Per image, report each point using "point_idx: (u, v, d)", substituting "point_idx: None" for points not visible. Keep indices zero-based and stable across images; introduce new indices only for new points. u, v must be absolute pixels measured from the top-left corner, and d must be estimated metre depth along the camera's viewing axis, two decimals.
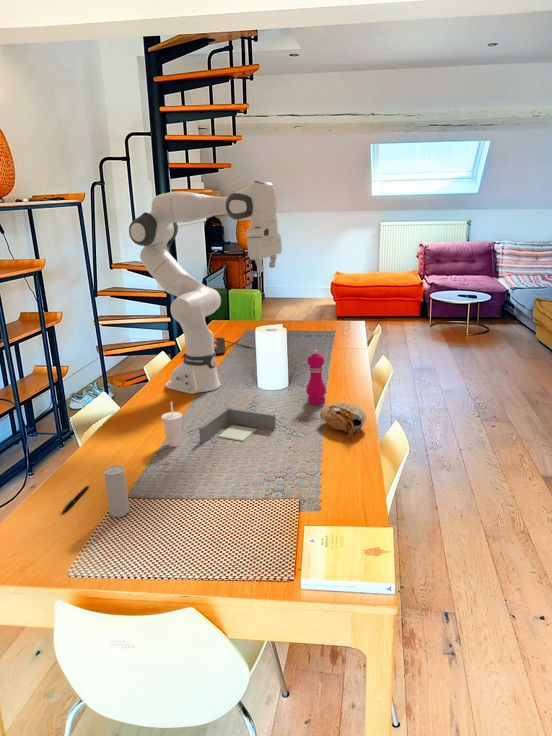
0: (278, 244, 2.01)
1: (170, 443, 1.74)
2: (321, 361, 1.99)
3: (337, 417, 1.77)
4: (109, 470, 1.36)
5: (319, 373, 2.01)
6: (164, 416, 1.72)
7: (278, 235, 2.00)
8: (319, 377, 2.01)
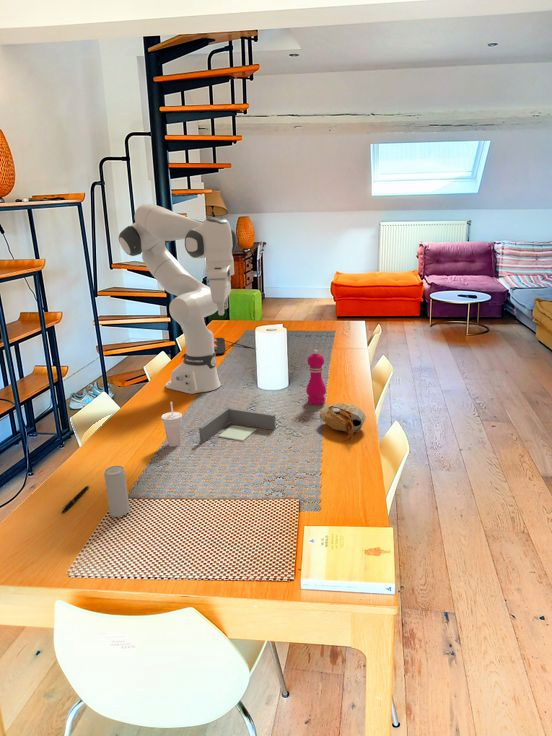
0: (229, 283, 1.88)
1: (170, 443, 1.74)
2: (321, 361, 1.99)
3: (337, 417, 1.77)
4: (109, 470, 1.36)
5: (319, 373, 2.01)
6: (164, 416, 1.72)
7: None
8: (319, 377, 2.01)
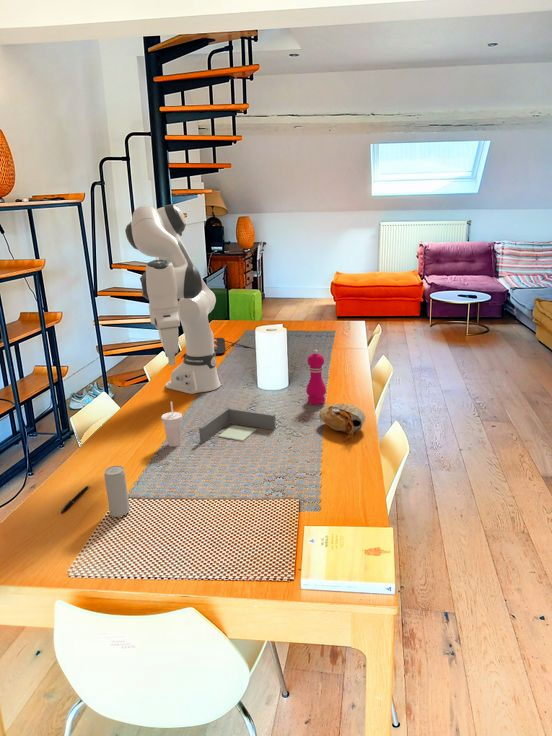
0: None
1: (170, 443, 1.74)
2: (321, 361, 1.99)
3: (337, 418, 1.77)
4: (109, 470, 1.36)
5: (319, 373, 2.01)
6: (164, 416, 1.72)
7: None
8: (319, 377, 2.01)
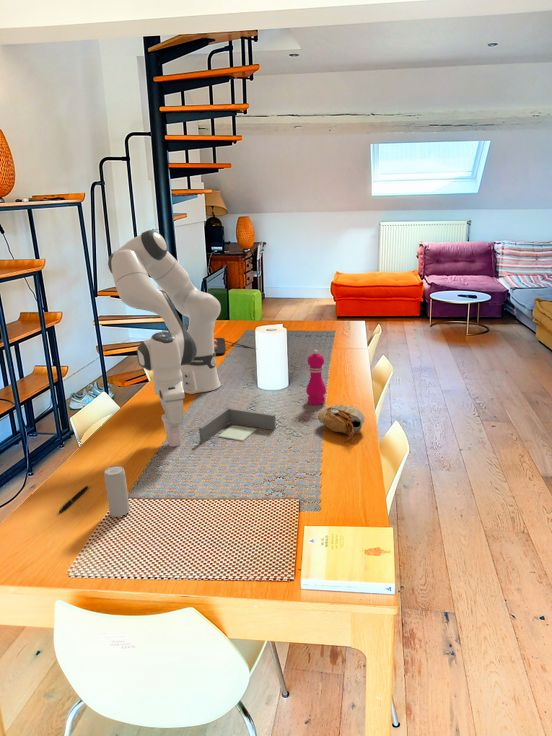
0: None
1: (170, 443, 1.74)
2: (321, 361, 1.99)
3: (336, 419, 1.76)
4: (109, 470, 1.35)
5: (319, 373, 2.01)
6: (164, 416, 1.73)
7: None
8: (319, 377, 2.01)
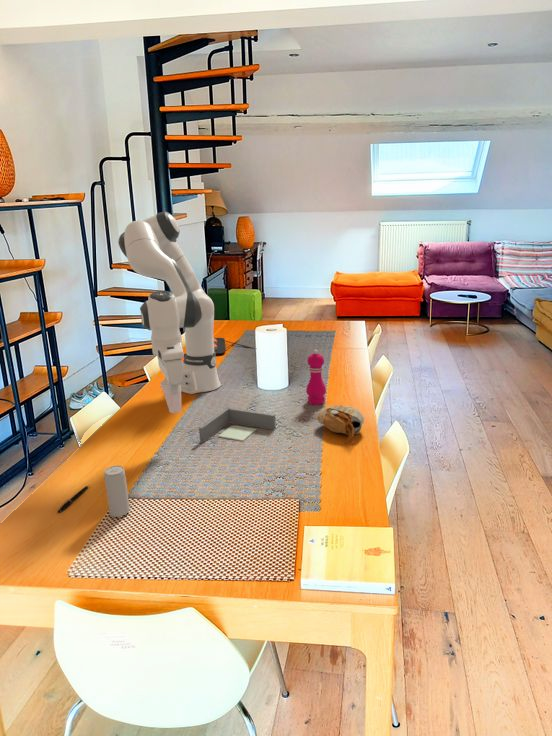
0: None
1: (171, 410, 1.71)
2: (321, 361, 1.99)
3: (336, 420, 1.75)
4: (109, 470, 1.36)
5: (319, 373, 2.01)
6: (163, 382, 1.69)
7: None
8: (319, 377, 2.01)
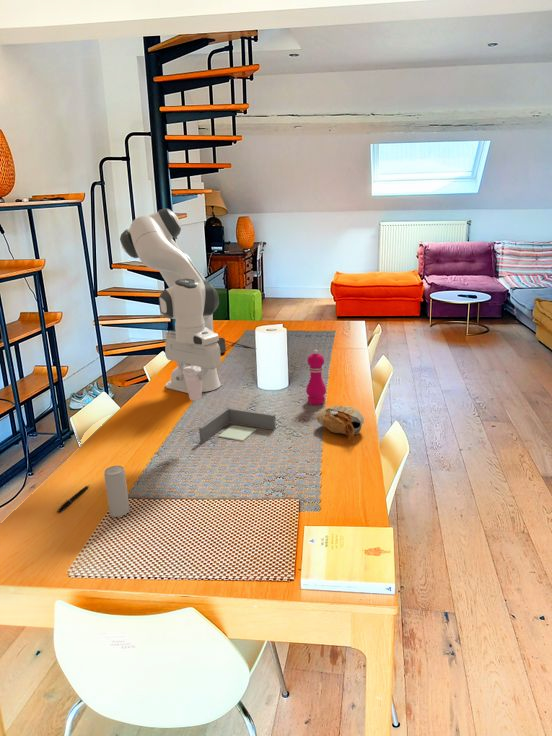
0: None
1: (195, 397, 1.72)
2: (321, 361, 1.99)
3: (336, 420, 1.75)
4: (109, 470, 1.36)
5: (319, 373, 2.01)
6: (186, 371, 1.69)
7: None
8: (319, 377, 2.01)
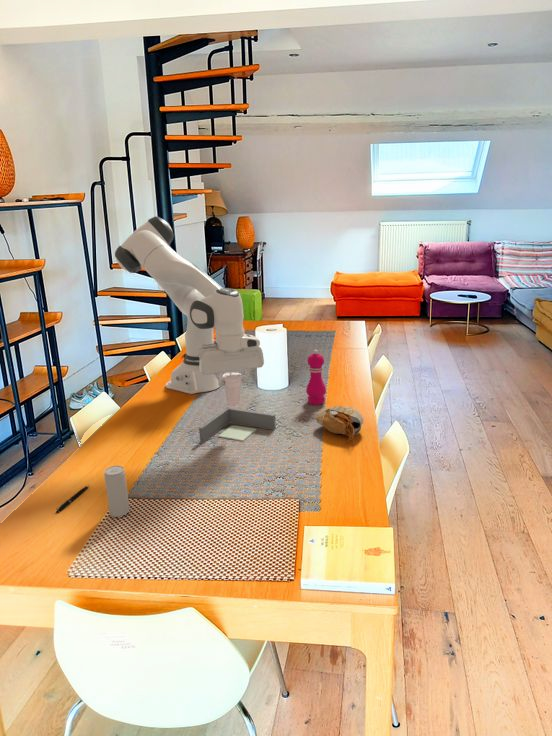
0: None
1: (238, 401, 1.77)
2: (321, 361, 1.99)
3: (336, 421, 1.75)
4: (109, 470, 1.36)
5: (319, 373, 2.01)
6: (232, 378, 1.73)
7: None
8: (319, 377, 2.01)
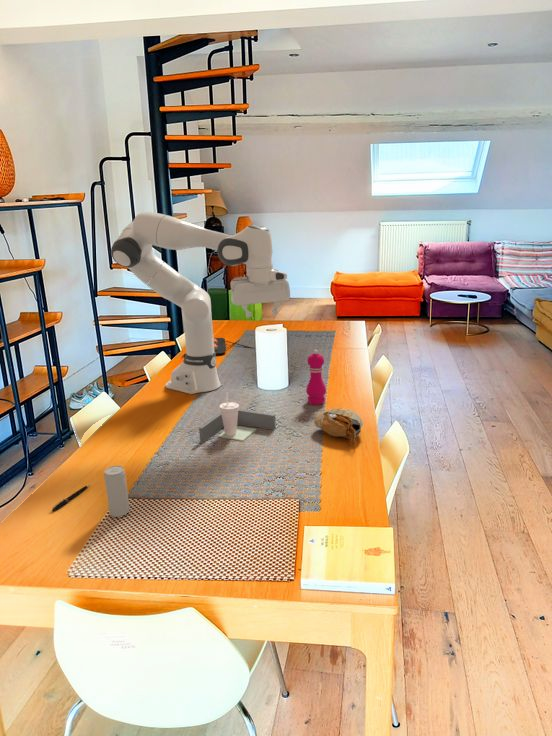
0: None
1: (235, 431, 1.80)
2: (321, 361, 1.99)
3: (336, 423, 1.73)
4: (109, 470, 1.36)
5: (319, 373, 2.01)
6: (229, 408, 1.76)
7: None
8: (319, 377, 2.01)
